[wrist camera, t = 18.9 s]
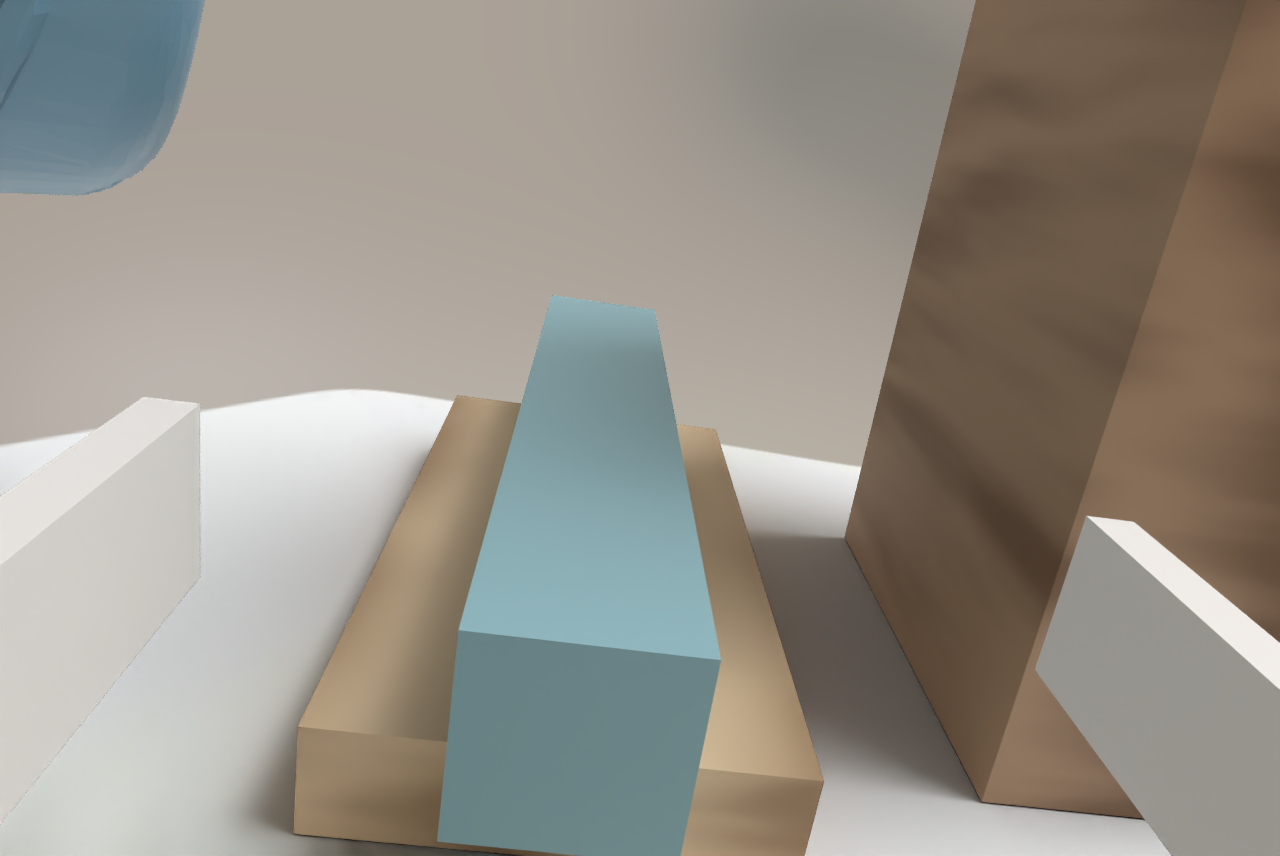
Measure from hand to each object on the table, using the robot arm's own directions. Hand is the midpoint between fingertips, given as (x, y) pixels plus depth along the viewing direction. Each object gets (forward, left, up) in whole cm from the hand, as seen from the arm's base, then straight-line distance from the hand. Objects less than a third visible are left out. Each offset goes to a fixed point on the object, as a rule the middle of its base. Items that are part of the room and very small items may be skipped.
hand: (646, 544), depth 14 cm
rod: (-1, +12, -6) cm, 13 cm away
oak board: (-1, +12, -8) cm, 15 cm away
